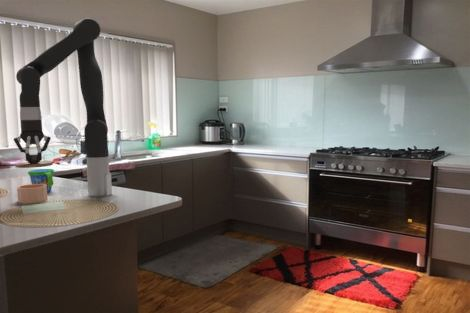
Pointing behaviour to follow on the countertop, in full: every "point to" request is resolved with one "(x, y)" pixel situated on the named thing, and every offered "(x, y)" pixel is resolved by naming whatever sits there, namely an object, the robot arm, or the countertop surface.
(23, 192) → the bowl
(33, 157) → the lid
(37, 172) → the snack cup
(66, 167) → the countertop surface
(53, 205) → the mat
